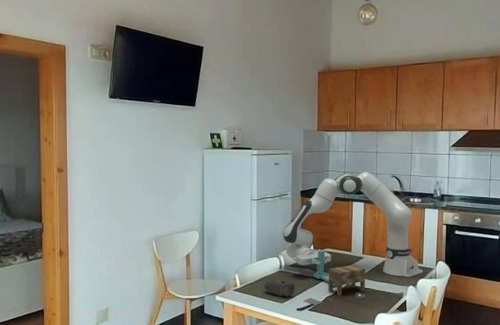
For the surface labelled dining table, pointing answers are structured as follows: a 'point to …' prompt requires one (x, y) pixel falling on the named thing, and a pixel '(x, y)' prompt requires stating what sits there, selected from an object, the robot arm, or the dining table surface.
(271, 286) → the perforated stone tool
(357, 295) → the metal token
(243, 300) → the dining table surface
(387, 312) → the dining table surface
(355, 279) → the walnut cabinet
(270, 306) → the dining table surface
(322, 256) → the teal post stand
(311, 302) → the cleaver
